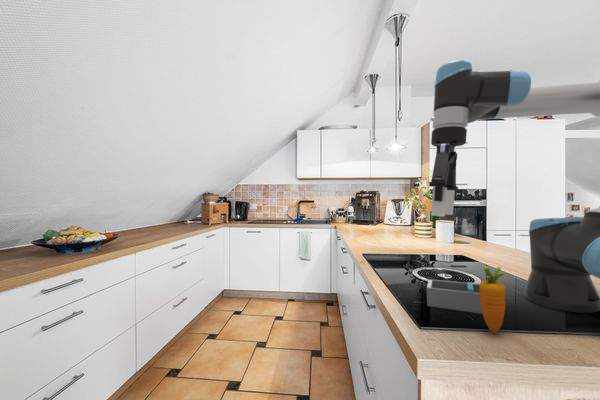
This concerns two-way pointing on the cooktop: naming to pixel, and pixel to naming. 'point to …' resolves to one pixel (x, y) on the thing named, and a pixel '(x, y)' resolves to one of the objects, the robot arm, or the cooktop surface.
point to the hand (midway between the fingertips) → (442, 215)
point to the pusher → (470, 287)
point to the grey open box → (453, 296)
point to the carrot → (492, 300)
